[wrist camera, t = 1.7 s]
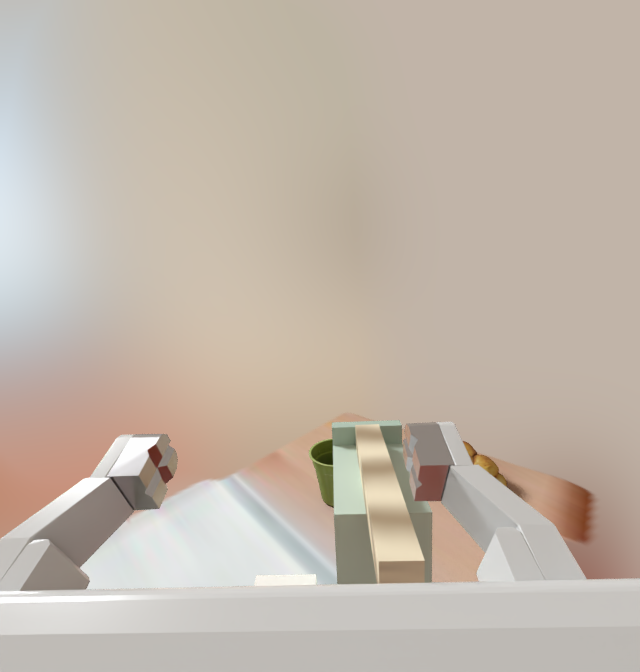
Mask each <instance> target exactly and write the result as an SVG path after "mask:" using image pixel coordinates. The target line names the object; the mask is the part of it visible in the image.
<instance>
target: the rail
mask: <svg viewBox="0 0 640 672" xmlns="http://www.w3.org/2000/svg"><path fill="white" fill-rule="evenodd" d="M355 434H356V450H357V457H358V463H359V470H360V476H361V483H362V489H363V496H364V502H365V509H366V515H367V522H368V528H369V534H370V541H371V547H372V554H373V560H374V567H375V573H376V580H377V584H382V583H425V560H424V557H423V554H422V551H421V548H420V545H419V542H418V539H417V536H416V533H415V530H414V527H413V524H412V521H411V518H410V515H409V512H408V510H407V507H406V504H405V501H404V498H403V495H402V492H401V489H400V486H399V483H398V480H397V477H396V474H395V471H394V468H393V465H392V462H391V459H390V456H389V453H388V450H387V447H386V444H385V441H384V438H383V435H382V432H381V429H380V426H379V424H369V425H355Z"/></svg>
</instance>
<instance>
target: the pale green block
mask: <svg viewBox="0 0 640 672" xmlns="http://www.w3.org/2000/svg"><path fill="white" fill-rule="evenodd" d="M369 424H379V426H380V429H381V432H382V435H383V438H384V441H385V444H386V447H387V450H388V453H389V456H390V459H391V462H392V465H393V468H394V471H395V474H396V477H397V480H398V483H399V486H400V489H401V492H402V495H403V498H404V501H405V504H406V507H407V510H408V512H409V515H410V518H411V521H412V524H413V527H414V530H415V533H416V536H417V539H418V542H419V545H420V548H421V551H422V554H423V557H424V560H425V583H432V511H431V508H430V506H429V504H428V502H427V501H414V498H413V494H412V490H411V487H410V483H409V480H410V472H409V471H408V470H407V469H406V467H405V462H404V457H403V445H402V425H401V423H400V421H399V420H394V421H364V422H335V423H332V437H333V483H334V525H335V545H336V565H337V584H377V580H376V573H375V567H374V560H373V554H372V547H371V541H370V534H369V528H368V522H367V515H366V509H365V502H364V496H363V489H362V483H361V476H360V470H359V463H358V457H357V450H356V434H355V425H369Z"/></svg>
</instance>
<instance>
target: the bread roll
mask: <svg viewBox="0 0 640 672" xmlns="http://www.w3.org/2000/svg"><path fill="white" fill-rule="evenodd" d="M463 443H464V445H465V447H466V450H467V452H468V454H469V456H470V458H471V460H472V462H473V465H479V466H481V467H482V468H483V469H484V470H486V471H487V472H488V473H489V474H491V475H492V476H493V477H495V478H496V479H497V480H498V481H500V482H501V483H502V484H503V485H505V486H506V487H507V483H506V480H505V478H504V477H503V476H502V475H501V474H499V473H498V470H499V469H498V467H497V465H496V464H495V463H494V462H493V461H492V460H491V459H490V458H488V457H487V456H484V455H479V454H477V452H476V451H475V450H474V449H473V447H472V446H471V445H470V444H469V443H467V442H464V441H463Z"/></svg>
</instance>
